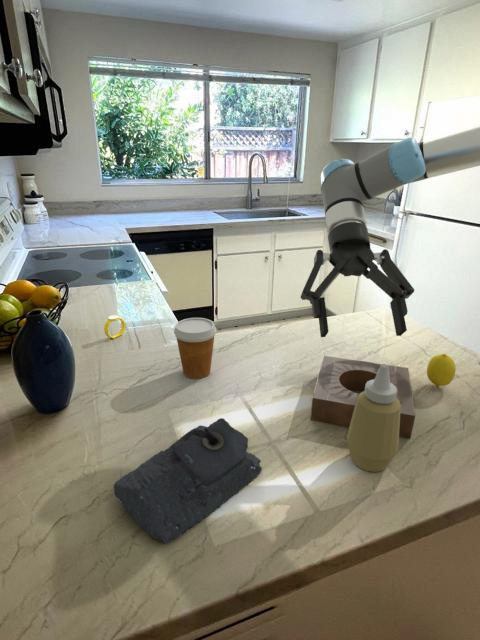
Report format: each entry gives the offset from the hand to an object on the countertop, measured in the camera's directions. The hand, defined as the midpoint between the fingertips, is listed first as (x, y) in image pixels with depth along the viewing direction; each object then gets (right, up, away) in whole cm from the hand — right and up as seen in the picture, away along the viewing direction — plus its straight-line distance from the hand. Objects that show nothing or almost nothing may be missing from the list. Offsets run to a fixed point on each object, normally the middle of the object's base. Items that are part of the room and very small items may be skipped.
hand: (363, 334), depth 70 cm
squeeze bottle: (0, -21, -3) cm, 21 cm away
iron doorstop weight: (-29, -23, -7) cm, 38 cm away
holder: (+3, -15, +13) cm, 20 cm away
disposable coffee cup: (-32, -10, +24) cm, 41 cm away
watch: (-56, -2, +42) cm, 70 cm away
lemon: (+22, -12, +19) cm, 32 cm away
